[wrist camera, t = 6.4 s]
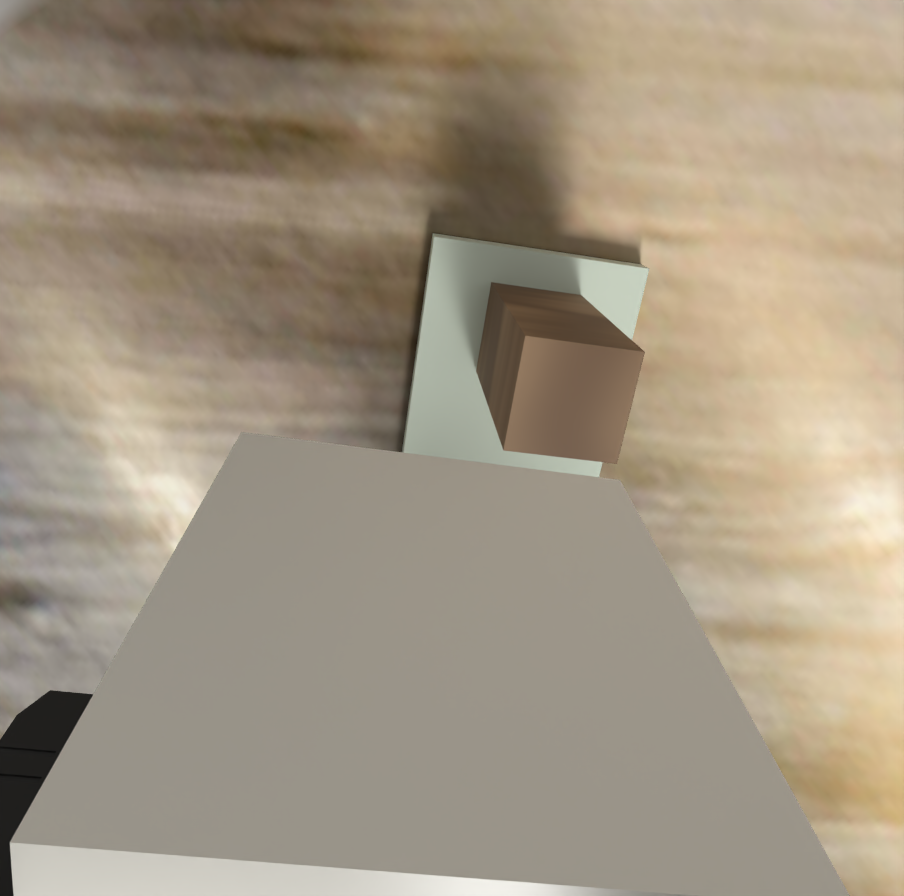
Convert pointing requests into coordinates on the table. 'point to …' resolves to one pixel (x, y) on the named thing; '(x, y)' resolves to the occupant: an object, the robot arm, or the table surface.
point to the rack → (460, 332)
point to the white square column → (415, 703)
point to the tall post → (556, 374)
